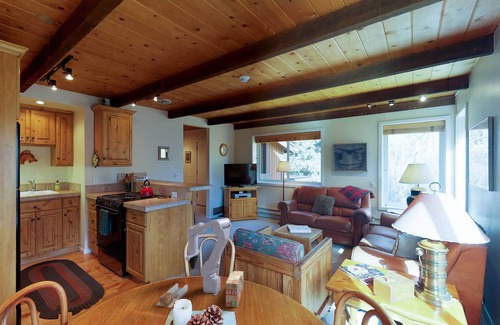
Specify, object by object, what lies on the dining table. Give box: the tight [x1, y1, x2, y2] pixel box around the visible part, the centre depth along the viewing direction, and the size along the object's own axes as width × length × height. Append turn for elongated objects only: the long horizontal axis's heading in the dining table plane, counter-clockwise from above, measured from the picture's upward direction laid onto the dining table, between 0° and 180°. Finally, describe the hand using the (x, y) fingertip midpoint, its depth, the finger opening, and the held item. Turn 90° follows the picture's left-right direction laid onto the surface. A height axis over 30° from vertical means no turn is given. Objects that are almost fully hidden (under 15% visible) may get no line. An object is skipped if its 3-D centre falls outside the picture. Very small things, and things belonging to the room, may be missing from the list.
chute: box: [155, 283, 190, 308], centre depth 124 cm, size 9×18×4 cm, turn 167°
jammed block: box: [159, 291, 173, 307], centre depth 118 cm, size 5×5×4 cm
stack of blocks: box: [225, 270, 245, 308], centre depth 127 cm, size 21×6×12 cm, turn 173°
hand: (192, 267), depth 141 cm, fingers closed
